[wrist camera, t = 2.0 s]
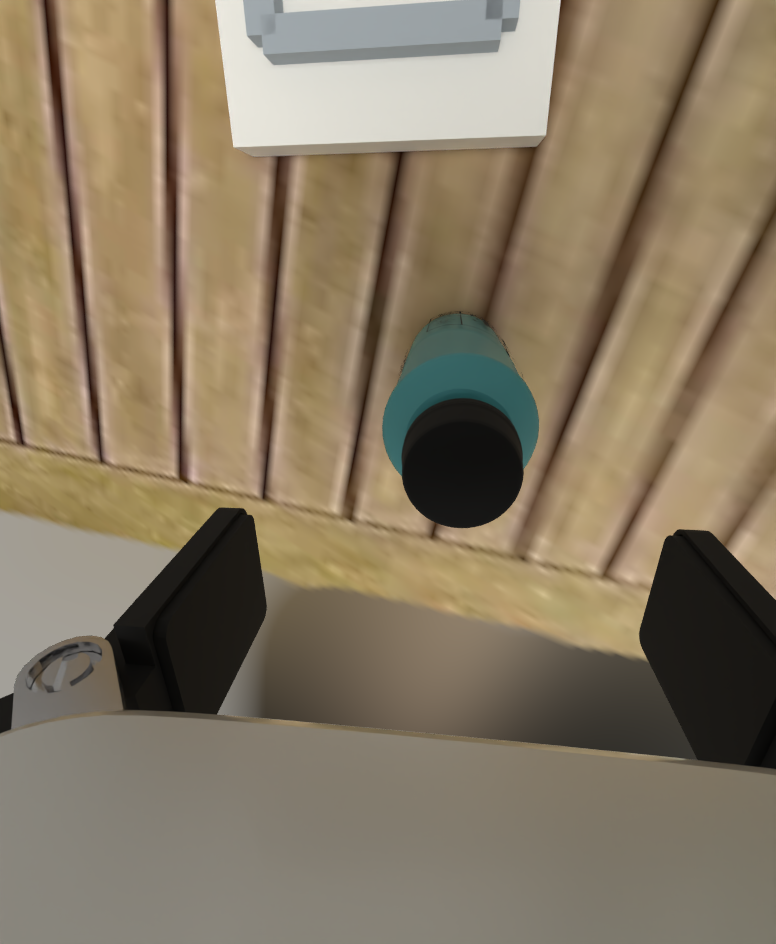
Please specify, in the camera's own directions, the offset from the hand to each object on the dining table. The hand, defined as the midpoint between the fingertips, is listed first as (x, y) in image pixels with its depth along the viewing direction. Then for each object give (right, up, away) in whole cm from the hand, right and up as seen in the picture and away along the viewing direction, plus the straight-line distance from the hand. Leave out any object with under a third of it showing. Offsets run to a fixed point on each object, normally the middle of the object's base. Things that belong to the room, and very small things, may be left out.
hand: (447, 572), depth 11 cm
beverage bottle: (+3, +10, +22) cm, 25 cm away
